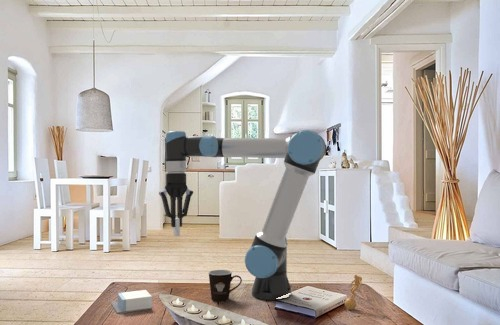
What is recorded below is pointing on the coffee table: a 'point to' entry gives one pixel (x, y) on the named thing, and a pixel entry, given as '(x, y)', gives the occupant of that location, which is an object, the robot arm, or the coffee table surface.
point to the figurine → (350, 302)
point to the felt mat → (118, 310)
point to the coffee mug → (221, 284)
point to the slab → (134, 300)
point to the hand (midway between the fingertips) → (176, 235)
